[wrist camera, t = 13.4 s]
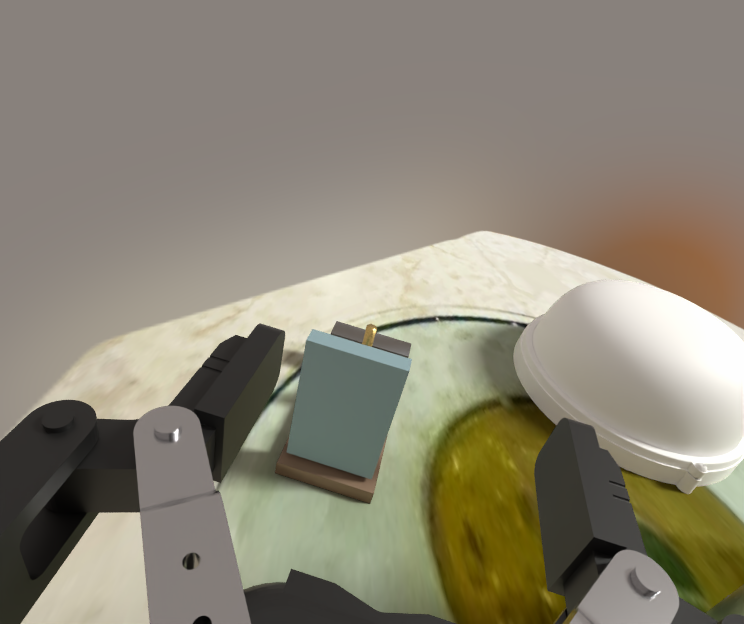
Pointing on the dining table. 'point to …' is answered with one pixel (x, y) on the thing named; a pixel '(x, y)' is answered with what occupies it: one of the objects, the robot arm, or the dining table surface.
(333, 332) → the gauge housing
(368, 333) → the gold upright bar
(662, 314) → the dome cover
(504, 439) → the dining table surface
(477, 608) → the dining table surface
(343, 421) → the blue-grey rectangular panel
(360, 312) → the dining table surface
